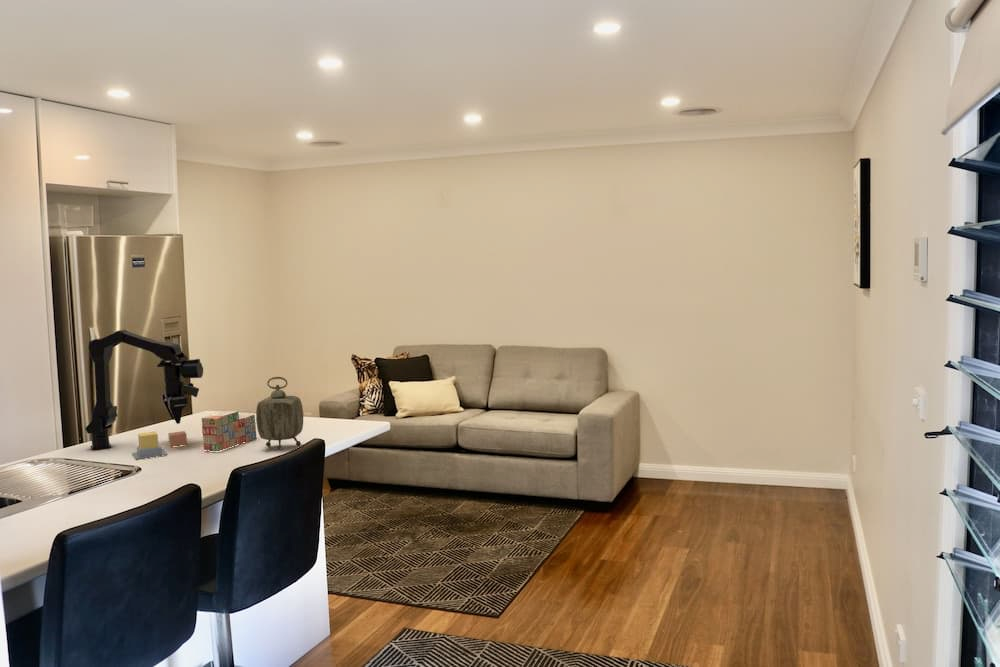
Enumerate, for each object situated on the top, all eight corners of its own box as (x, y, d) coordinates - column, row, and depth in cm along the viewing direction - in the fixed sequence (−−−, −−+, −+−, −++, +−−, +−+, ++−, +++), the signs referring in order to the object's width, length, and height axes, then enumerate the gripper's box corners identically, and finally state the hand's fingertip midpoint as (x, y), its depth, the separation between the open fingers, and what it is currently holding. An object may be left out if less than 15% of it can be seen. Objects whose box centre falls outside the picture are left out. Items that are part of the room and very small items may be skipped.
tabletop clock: (305, 444, 296) (300, 374, 294) (298, 450, 287) (294, 378, 285) (264, 445, 296) (259, 375, 294) (256, 451, 287) (251, 379, 285)
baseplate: (132, 454, 291) (131, 446, 290) (162, 450, 296) (162, 441, 295) (136, 460, 282) (135, 451, 282) (167, 455, 287) (166, 447, 287)
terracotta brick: (169, 445, 304) (168, 433, 304) (185, 443, 307) (184, 431, 306) (171, 448, 299) (170, 435, 299) (187, 445, 302) (186, 433, 301)
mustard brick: (139, 446, 290) (138, 433, 289) (156, 444, 292) (155, 431, 292) (141, 449, 285) (140, 436, 284) (158, 446, 288) (157, 434, 287)
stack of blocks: (242, 438, 311) (240, 405, 310) (256, 439, 309) (254, 406, 307) (203, 452, 291) (201, 417, 290) (218, 453, 289) (215, 417, 288)
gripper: (201, 379, 297) (204, 422, 298) (191, 373, 313) (194, 414, 314) (168, 382, 291) (171, 427, 293) (159, 376, 307) (162, 418, 309)
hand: (176, 421), depth 302 cm, fingers open, 9 cm apart
